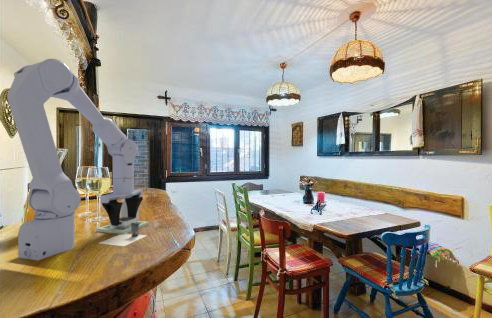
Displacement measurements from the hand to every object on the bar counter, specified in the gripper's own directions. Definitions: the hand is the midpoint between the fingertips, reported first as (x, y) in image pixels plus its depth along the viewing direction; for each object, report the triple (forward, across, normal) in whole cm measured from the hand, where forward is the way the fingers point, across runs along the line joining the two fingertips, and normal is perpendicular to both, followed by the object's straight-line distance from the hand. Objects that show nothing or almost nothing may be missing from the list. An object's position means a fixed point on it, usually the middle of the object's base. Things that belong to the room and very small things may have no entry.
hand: (123, 222), depth 71 cm
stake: (+2, -5, -9) cm, 11 cm away
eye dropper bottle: (+3, +8, +6) cm, 11 cm away
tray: (+3, 0, 0) cm, 3 cm away
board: (+3, -8, -8) cm, 12 cm away
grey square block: (+2, 0, 0) cm, 2 cm away
